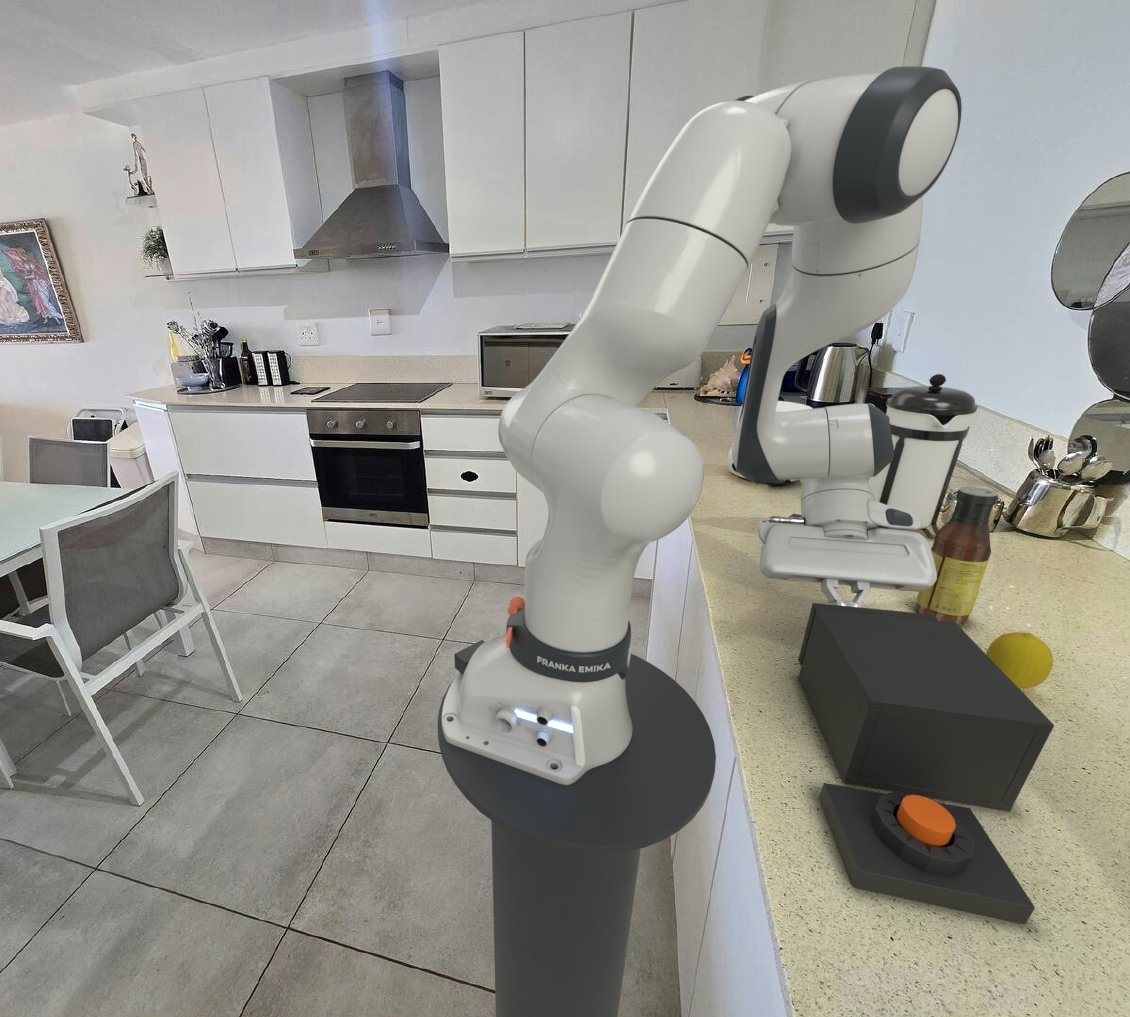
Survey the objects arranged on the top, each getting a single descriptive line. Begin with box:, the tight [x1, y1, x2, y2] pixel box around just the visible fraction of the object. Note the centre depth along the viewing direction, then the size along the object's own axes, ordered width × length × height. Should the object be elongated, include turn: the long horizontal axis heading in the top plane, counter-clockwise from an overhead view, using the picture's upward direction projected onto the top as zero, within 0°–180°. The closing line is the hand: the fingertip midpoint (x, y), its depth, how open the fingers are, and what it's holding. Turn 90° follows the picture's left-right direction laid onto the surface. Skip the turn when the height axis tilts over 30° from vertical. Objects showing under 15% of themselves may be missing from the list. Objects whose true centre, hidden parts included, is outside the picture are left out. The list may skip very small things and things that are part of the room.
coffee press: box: [869, 373, 979, 540], centre depth 105 cm, size 17×16×30 cm
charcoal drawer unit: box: [797, 608, 1055, 812], centre depth 59 cm, size 16×14×11 cm
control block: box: [818, 782, 1036, 925], centre depth 48 cm, size 12×9×4 cm
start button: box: [897, 795, 956, 846], centre depth 47 cm, size 4×4×2 cm
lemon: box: [985, 631, 1054, 690], centre depth 66 cm, size 6×6×8 cm
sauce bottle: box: [915, 486, 999, 626], centre depth 78 cm, size 7×6×20 cm
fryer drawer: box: [797, 602, 938, 667], centre depth 64 cm, size 19×13×9 cm
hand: (847, 616), depth 73 cm, fingers closed, pressing on fryer drawer
